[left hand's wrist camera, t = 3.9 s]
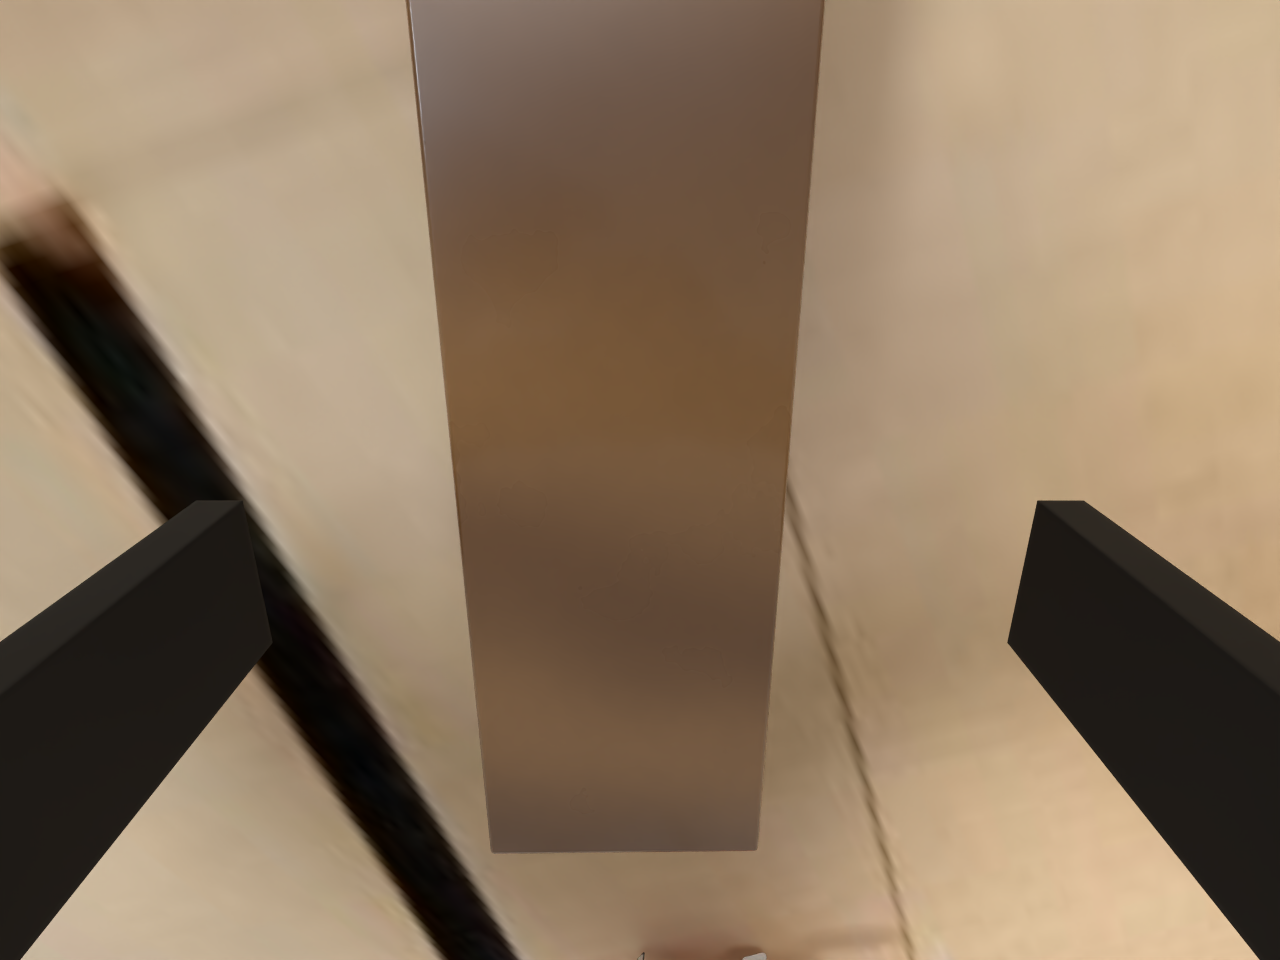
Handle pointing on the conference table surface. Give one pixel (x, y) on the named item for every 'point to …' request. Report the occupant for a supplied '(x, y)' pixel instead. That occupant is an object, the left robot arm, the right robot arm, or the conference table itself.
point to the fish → (754, 959)
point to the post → (619, 394)
